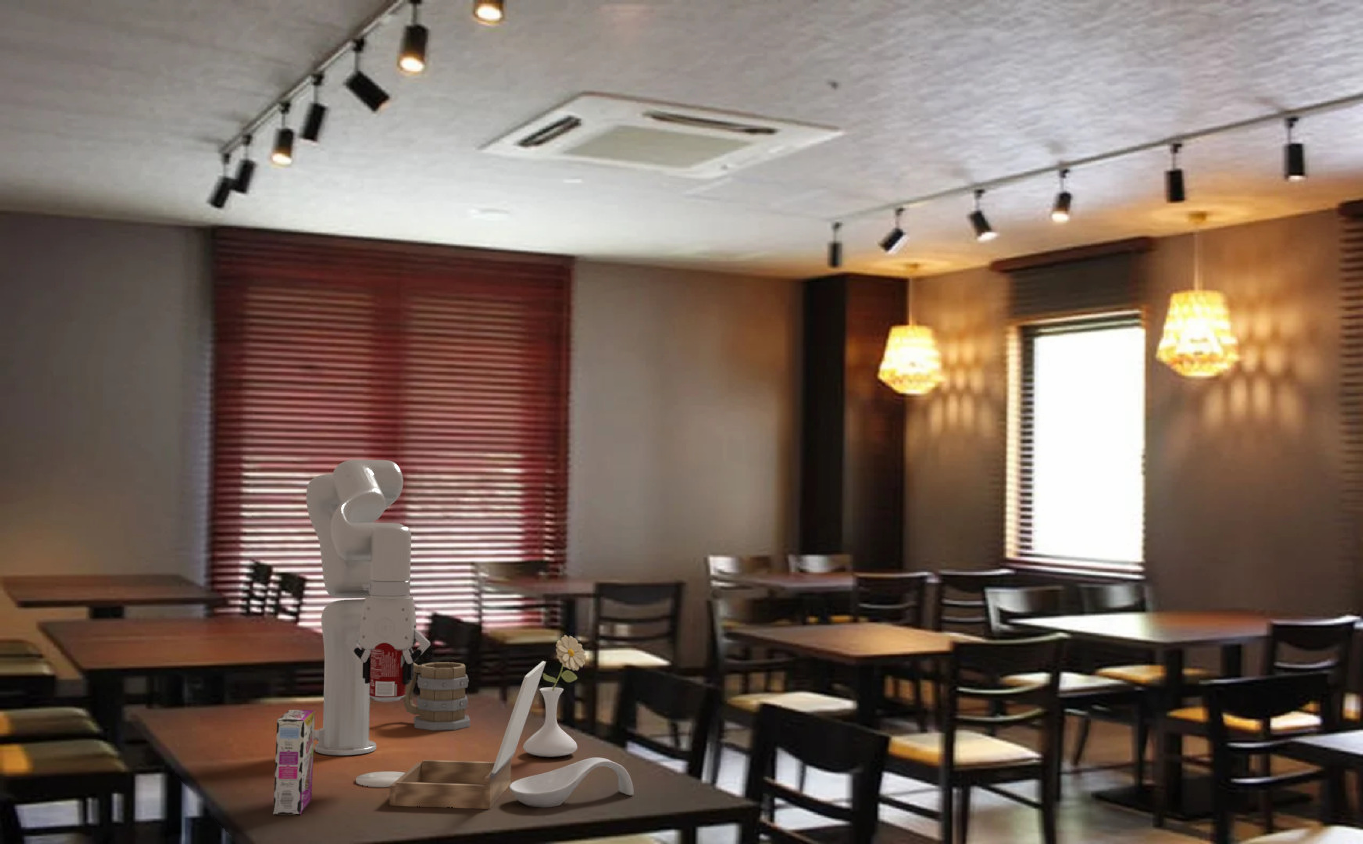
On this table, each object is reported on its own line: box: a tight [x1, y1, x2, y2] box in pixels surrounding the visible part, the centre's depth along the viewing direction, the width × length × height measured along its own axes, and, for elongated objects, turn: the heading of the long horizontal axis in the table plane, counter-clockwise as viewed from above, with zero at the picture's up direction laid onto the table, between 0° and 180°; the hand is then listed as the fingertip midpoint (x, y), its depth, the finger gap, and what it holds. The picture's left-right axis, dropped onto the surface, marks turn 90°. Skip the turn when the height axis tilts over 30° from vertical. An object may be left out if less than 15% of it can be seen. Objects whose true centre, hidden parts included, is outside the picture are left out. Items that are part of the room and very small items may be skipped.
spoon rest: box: [508, 757, 635, 808], centre depth 258 cm, size 24×12×7 cm, turn 122°
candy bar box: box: [272, 709, 316, 815], centre depth 248 cm, size 11×5×16 cm, turn 5°
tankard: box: [402, 661, 471, 732], centre depth 330 cm, size 20×13×15 cm, turn 58°
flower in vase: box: [522, 634, 587, 758], centre depth 297 cm, size 13×11×25 cm
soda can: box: [369, 638, 406, 702], centre depth 270 cm, size 7×7×12 cm
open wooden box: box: [389, 758, 512, 810], centre depth 260 cm, size 18×20×5 cm
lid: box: [490, 660, 547, 778], centre depth 260 cm, size 19×20×1 cm
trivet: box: [355, 771, 406, 788], centre depth 270 cm, size 11×11×1 cm
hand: (387, 682), depth 270 cm, fingers closed on soda can, 6 cm apart
